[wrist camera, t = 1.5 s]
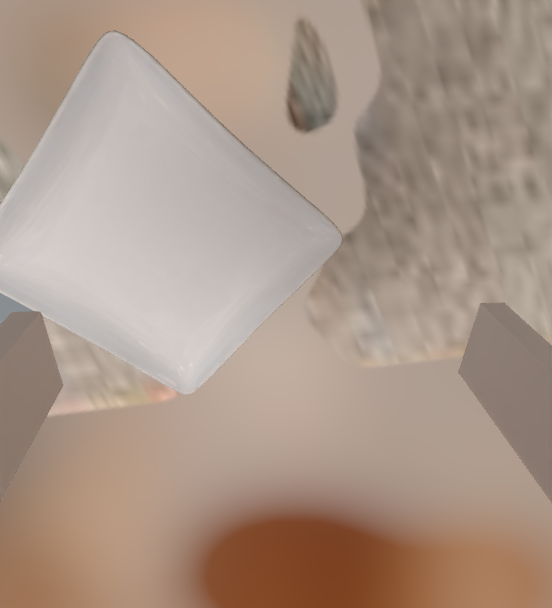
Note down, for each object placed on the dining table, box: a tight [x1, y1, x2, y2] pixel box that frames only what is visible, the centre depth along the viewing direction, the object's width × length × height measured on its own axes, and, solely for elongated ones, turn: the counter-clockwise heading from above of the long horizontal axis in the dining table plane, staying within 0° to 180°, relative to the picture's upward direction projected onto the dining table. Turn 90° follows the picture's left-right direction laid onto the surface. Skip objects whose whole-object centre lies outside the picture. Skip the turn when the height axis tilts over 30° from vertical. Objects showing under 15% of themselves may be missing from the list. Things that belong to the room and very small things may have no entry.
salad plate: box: [0, 31, 342, 394], centre depth 33 cm, size 21×21×3 cm
